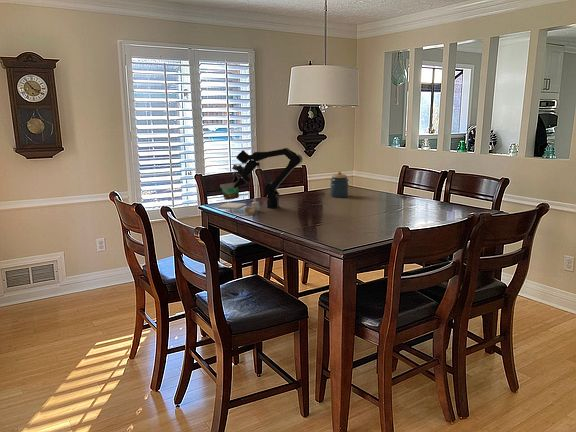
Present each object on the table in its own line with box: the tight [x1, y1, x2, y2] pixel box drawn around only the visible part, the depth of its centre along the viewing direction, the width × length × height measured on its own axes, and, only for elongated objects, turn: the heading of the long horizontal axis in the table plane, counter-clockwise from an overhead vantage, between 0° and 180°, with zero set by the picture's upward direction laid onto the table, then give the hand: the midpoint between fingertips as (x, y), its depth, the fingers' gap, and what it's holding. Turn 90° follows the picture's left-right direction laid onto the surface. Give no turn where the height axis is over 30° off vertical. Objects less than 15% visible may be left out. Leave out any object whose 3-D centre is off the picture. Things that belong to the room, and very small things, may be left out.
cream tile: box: [217, 202, 247, 210], centre depth 298 cm, size 13×14×1 cm
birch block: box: [244, 205, 256, 216], centre depth 273 cm, size 4×4×4 cm
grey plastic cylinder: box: [250, 201, 260, 213], centre depth 284 cm, size 5×5×5 cm
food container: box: [219, 182, 240, 201], centre depth 289 cm, size 12×6×10 cm, turn 114°
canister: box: [329, 171, 349, 198], centre depth 331 cm, size 13×13×18 cm
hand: (232, 187), depth 289 cm, fingers closed on food container, 6 cm apart
